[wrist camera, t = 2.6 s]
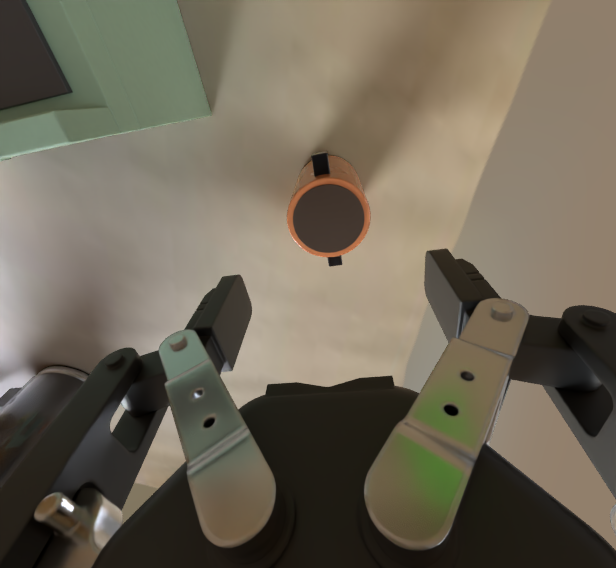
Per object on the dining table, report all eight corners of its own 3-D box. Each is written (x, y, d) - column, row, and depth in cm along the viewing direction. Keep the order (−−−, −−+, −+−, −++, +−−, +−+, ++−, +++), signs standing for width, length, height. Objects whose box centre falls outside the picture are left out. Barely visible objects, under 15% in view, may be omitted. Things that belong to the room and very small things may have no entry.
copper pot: (305, 235, 28) (299, 277, 21) (287, 145, 24) (273, 165, 17) (363, 226, 27) (374, 267, 21) (355, 132, 23) (366, 148, 16)
